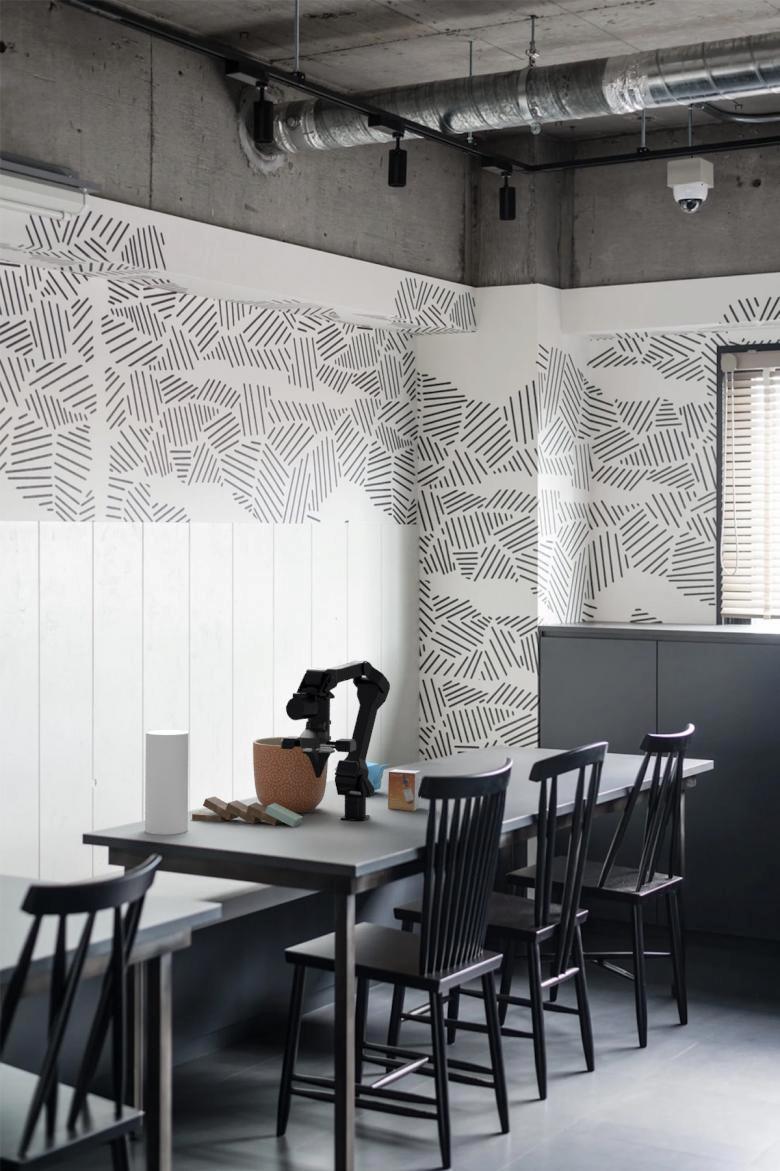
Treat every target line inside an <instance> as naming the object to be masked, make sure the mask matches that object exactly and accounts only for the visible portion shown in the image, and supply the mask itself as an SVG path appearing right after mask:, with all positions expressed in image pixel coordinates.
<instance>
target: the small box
mask: <svg viewBox="0 0 780 1171" xmlns="http://www.w3.org/2000/svg"><path fill="white" fill-rule="evenodd" d="M387 780H388V783H387V784H388V787H387V791H388V792H387V809H388V810H389V809H390V810H391V809H392V810H401V811H402V810H403V811H404V810H405V811H410V810H415V809H417V808H419V807H420V808H421V798H420V799H419V798H418V790H419V787H420V783H421V784H422V771H421V770H410V769H408V770H407V769H396V768H394V769H392V770H389V771H388V778H387ZM420 808H419V809H420ZM417 810H418V809H417ZM415 811H416V810H415Z"/></svg>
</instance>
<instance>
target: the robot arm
mask: <svg viewBox="0 0 780 1171" xmlns="http://www.w3.org/2000/svg"><path fill="white" fill-rule="evenodd" d="M351 680H352V683H353V685H354V686H355V688H356V697H357V701H358V704H359V708H358V711H357V716H356V720H355V724H354V727H353V731H352V736H351V738H339V739H336V740H332V736H331V734H330V733H331V728H330V727H331V725H332V720H331V699H332V700H333V699H335V697H336V695H335V694H334V693H333V692H331V691H332V690H333V689H336V688H337V687H338V684H339V683H341V682H346V681H351ZM390 690H391V684H390V681H389V680H388V679H387V677H386V676H385V675H384V673H382V672H381V671H380V670H378V669H377V668H375V667H374V666H373V665H372V663H371V662H369V661H367V660H358V659H357V660H356V659H355V660H354V659H353V661H350V662H346V663H344V664H339V665H336V666H333V667H329V668H328V667H327V668H325V667H309V668H306V671H305V674H304V675H303V677H302V679H301V681H300V683H299V686H298V688H297V691H296V692H293V693H292V698H290V699H289V700H288V702H287V703H286V705H285V711H286V714H287V717H288V718H289V719H290V720H292V721H301V720H307V721H305V728H304V730H303V731H302V733H301V734H300V735H299V736H295V735H289V736H284V737H285V738H283V739H282V741H281V749H293V748H294V747H301V748H302V749H303V751H302V753H305V754H306V755H307V756H308V757H309V759H310V761H311V764H312V767H313V770H314V773H315V776H316V778H320V777H321V774H322V772H323V769H324V767H325V764H326V762H327V760H328V761H329V758H330V756H331V754H333V753H335V752H336V751H337V752H338V753H348V754H347V755H346V757H345V758H344V759H340V760H338V762H337V766H336V767H337V770H335V772H334V775H335V776H334V784H335V788H336V793H337V796H344V814H343V815H342V816H341V817H340V818H339V819H340V820H345V821H347V820H348V821H361V822H362V821H363V822H364V821H365V820H367V819H369V818H370V817H371V815H370V814H367V798H372V797H373V796H374V794H375V793H374V791H375V790H374V787H373V785H372V784H371V782H370V781H369V779H368V774H369V770H368V767H367V764H366V763H367V762H366V760H367V756H368V752H369V751H368V750H369V748H370V744H371V738H372V734H373V731H374V727H375V726H374V725H375V722H376V719H377V718H376V717H377V715H378V714H377V713H378V710H379V709H380V708H381V707H382V706H383V705H384V703H385V702H386V701H387V699H388V695H389V692H390ZM318 748H320V749H321V751H320V749H318Z"/></svg>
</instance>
